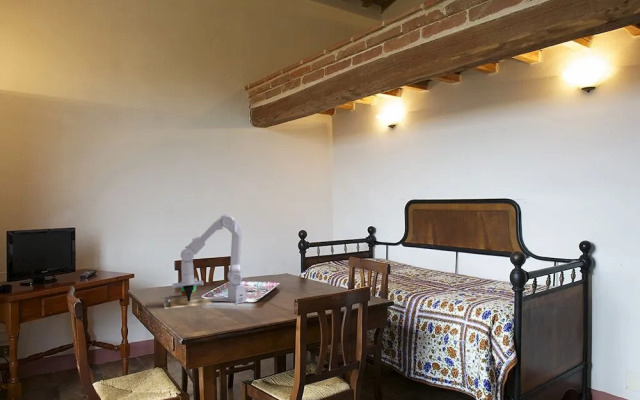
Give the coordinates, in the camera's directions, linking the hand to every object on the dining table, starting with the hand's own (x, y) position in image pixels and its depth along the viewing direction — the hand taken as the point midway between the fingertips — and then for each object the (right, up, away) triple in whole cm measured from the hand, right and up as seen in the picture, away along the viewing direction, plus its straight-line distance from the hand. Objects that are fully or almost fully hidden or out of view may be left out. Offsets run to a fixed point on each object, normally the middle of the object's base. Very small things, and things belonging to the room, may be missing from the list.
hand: (188, 301), depth 224 cm
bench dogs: (-9, -1, -4) cm, 10 cm away
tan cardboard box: (-4, -1, -2) cm, 5 cm away
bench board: (0, -3, 0) cm, 3 cm away
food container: (-4, -2, +19) cm, 20 cm away
